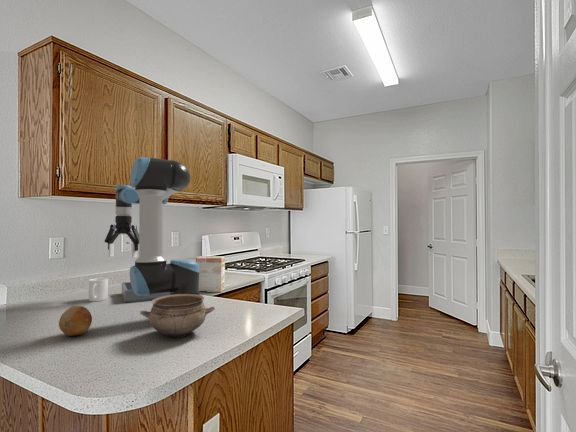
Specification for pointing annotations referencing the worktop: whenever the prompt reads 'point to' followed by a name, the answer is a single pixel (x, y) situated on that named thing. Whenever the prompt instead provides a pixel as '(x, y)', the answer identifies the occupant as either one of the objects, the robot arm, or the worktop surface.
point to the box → (132, 297)
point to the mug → (98, 289)
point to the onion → (75, 321)
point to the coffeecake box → (211, 273)
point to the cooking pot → (177, 314)
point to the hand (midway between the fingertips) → (122, 256)
